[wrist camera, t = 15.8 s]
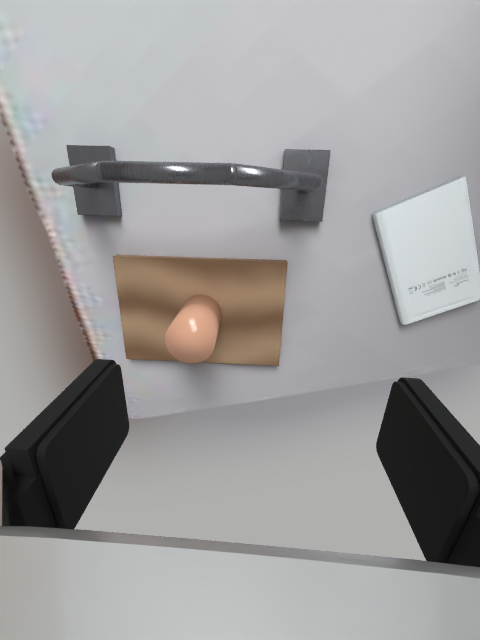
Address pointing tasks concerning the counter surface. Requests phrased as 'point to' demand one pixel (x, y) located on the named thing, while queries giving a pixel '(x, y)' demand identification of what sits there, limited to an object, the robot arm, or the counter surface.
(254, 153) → the counter surface
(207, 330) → the peach domed cylinder
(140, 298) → the walnut board
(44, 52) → the counter surface
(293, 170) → the grey cabinet handle
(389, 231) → the external hard drive
